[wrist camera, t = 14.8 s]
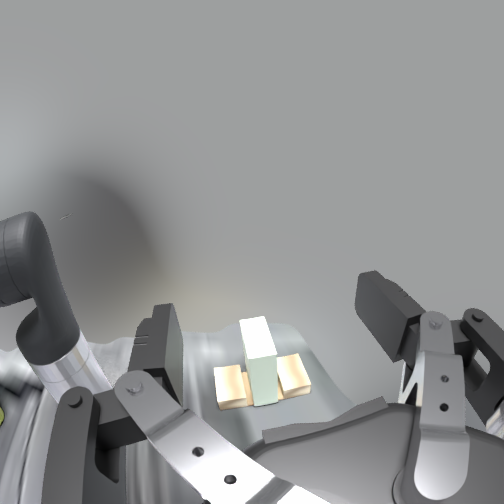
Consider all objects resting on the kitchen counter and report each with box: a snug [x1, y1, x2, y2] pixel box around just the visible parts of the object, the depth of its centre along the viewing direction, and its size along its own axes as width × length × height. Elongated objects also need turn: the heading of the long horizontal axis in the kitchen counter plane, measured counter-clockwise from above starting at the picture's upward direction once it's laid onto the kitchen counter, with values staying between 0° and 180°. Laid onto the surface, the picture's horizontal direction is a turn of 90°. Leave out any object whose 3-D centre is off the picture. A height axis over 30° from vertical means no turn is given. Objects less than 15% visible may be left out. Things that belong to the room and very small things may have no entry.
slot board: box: [214, 354, 311, 410], centre depth 41 cm, size 14×7×2 cm, turn 100°
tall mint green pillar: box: [240, 316, 278, 407], centre depth 39 cm, size 4×8×11 cm, turn 10°
